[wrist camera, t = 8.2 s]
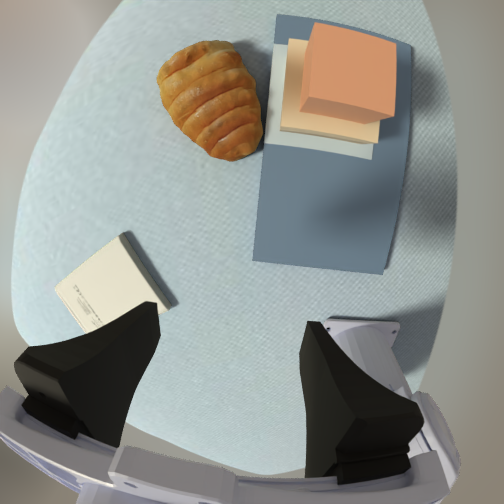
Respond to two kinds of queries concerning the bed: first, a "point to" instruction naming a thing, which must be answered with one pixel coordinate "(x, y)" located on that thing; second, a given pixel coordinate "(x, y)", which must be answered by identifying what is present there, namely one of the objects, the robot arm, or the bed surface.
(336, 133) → the base block
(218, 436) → the bed surface
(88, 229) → the bed surface
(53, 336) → the bed surface
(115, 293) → the external hard drive
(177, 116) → the pastry
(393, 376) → the robot arm
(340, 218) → the board
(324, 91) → the top block
